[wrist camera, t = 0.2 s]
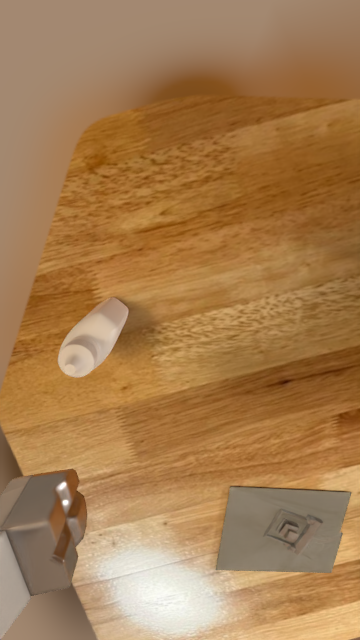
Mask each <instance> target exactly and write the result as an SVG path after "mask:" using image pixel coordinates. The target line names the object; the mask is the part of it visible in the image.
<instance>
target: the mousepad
mask: <svg viewBox="0 0 360 640" xmlns="http://www.w3.org/2000/svg"><path fill="white" fill-rule="evenodd" d="M350 496H351V492H331V491H310V490H289V489H268V488H247V487H230V492H229V497H228V503H227V509H226V514H225V520H224V526H223V531H222V537H221V543H220V548H219V554H218V560H217V565H216V570H236V571H276V572H317V573H331V572H332V568H333V565H334V562H335V558H336V555H337V551H338V548H339V545H340V541H341V537H342V533H340V530H341V527H342V523H343V520H344V516H345V513H346V509H347V506H348V503H349V499H350Z"/></svg>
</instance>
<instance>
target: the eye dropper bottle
mask: <svg viewBox="0 0 360 640" xmlns="http://www.w3.org/2000/svg"><path fill="white" fill-rule="evenodd" d="M128 312H129V311H128V308H127V306H125V305H124V304H123V303H122V302H120V301H119V300H118V299H116V298H114V297H111V298H108V299H106V300H105V301H103V302H101V303H100V304H99V305H97V306H96V307H95V308H94V309H93V310H92V311H91V312H90V313H88V314H87V315H86V316H85V317H84V318H83V319H82V320H81V321H80V322H79V323H78V324H76V325H75V326H74V328H73V329H72V330H71V331H70V332H69V333H68V335H67V336H66V338H65V340H64V341H63V343H62V346H61V348H60V352H59V356H58V363H59V366H60V368H61V370H62V371H63V372H64V373H66V374H67V375H69V376H71V377H83V376H86V375H87V374H89V373H90V372H91V371H92V370H93V369H95V368H96V367H97V366H99V365H100V364H101V363H102V362H103V361H104V360H105V358H106V357H107V356H108V355H109V353H110V352H111V350H112V348H113V346H114V345H115V343H116V341H117V339H118V337H119V335H120V332H121V330H122V328H123V326H124V324H125V322H126V319H127V317H128Z"/></svg>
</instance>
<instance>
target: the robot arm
mask: <svg viewBox="0 0 360 640" xmlns="http://www.w3.org/2000/svg"><path fill="white" fill-rule="evenodd" d="M78 484H79V479H78V476H77V473H76V471H75V470H74V469H67V470H60V471H54V472H47V473H41V474H35V475H29V476H24V477H18V478H15V479H13V480H11V481H10V482H9V484H8V485H7V487H6V488H5V490H4V492H3V493H2V494H1V496H0V639H1V638H2V637H3V636H4V634H5V633H6V632H7V630H8V629H9V627H10V626H11V625H12V624H13V622H14V621H15V620H16V618H17V617H18V616H19V614H20V613H21V611H22V610H23V609H24V608H25V606H26V605H27V604H28V602H29V601H30V599H31V596H33V595H38V594H42V593H47V592H51V591H56V590H61V589H64V588H69V587H70V585H71V581H72V577H73V574H74V570H75V567H76V563H77V559H78V554H77V551H76V548H75V547H76V546H77V545H78V544H79V543H80V541H81V540H82V539H83V537H84V533H85V529H86V522H87V509H86V502H85V499H84V496H83V495H82V494H81V493H80V492H78V491H77V487H78Z"/></svg>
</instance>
